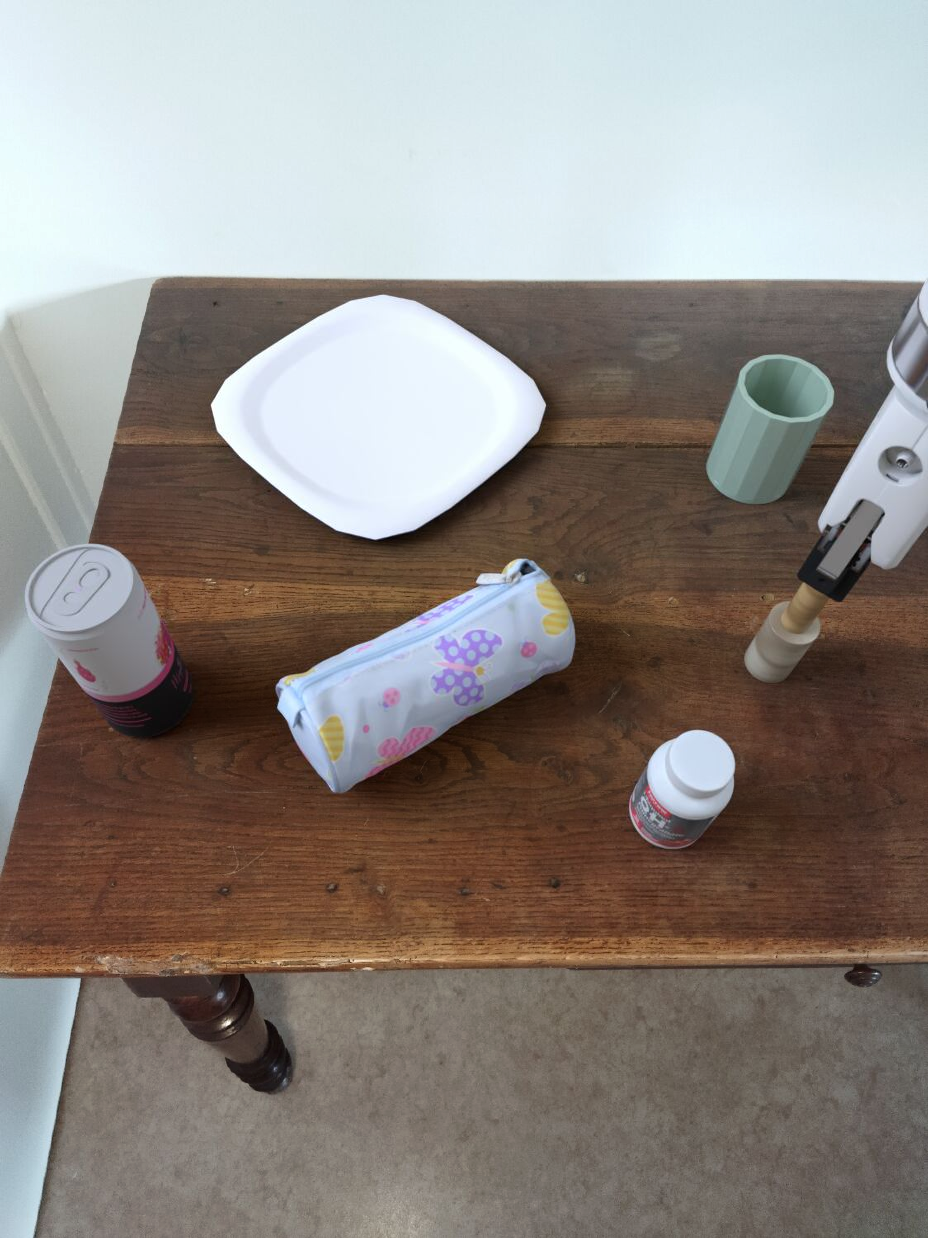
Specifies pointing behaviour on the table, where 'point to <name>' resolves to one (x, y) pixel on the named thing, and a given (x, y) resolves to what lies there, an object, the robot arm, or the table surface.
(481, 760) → the table surface
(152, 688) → the beverage can
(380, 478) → the plate
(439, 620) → the pencil case
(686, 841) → the pill bottle
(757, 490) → the cup
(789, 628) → the wooden rod
